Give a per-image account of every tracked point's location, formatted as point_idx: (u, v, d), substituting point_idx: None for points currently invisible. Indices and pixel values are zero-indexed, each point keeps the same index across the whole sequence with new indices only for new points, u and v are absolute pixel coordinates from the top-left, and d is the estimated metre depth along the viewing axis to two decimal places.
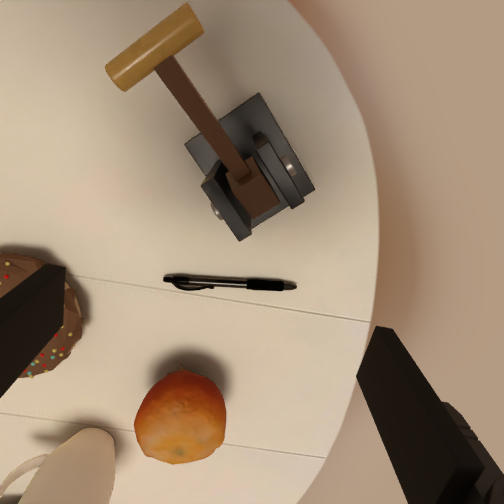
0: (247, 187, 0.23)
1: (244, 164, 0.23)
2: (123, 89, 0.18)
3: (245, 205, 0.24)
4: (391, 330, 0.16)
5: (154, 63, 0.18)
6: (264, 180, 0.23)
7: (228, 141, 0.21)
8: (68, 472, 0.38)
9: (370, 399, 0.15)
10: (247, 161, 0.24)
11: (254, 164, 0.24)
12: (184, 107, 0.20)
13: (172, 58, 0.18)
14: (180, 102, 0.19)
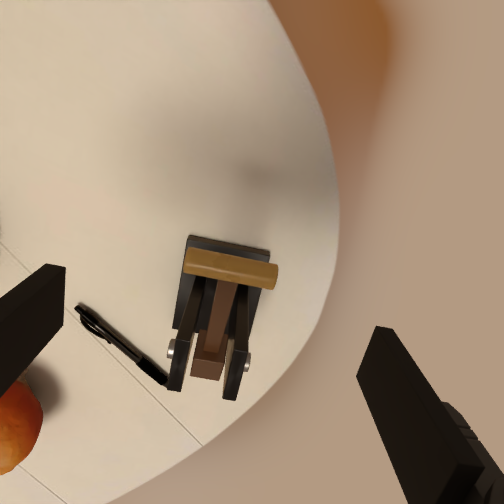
0: (206, 363, 0.26)
1: (218, 348, 0.25)
2: None
3: (193, 368, 0.26)
4: (391, 330, 0.16)
5: (222, 280, 0.20)
6: (222, 367, 0.26)
7: (222, 334, 0.24)
8: None
9: (370, 399, 0.15)
10: None
11: (224, 346, 0.26)
12: (214, 304, 0.22)
13: (236, 284, 0.20)
14: (215, 301, 0.22)
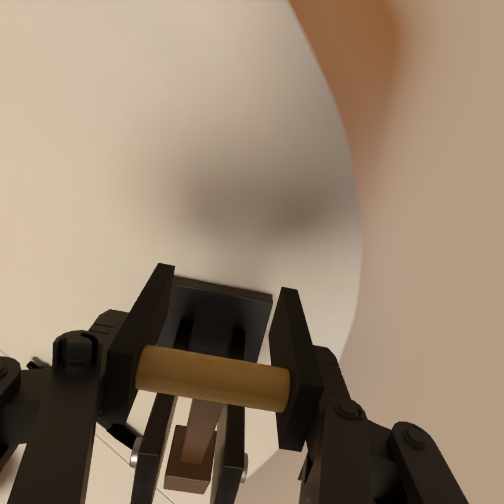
0: (184, 480, 0.18)
1: (201, 460, 0.18)
2: None
3: (167, 483, 0.19)
4: (296, 290, 0.17)
5: None
6: (206, 485, 0.18)
7: (205, 448, 0.16)
8: None
9: (272, 351, 0.16)
10: None
11: (211, 452, 0.19)
12: (191, 421, 0.14)
13: (223, 402, 0.13)
14: (191, 418, 0.14)
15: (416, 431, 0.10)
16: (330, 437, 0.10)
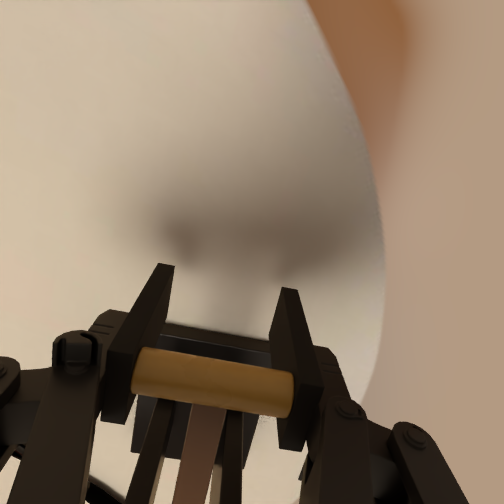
0: None
1: None
2: (134, 393, 0.11)
3: None
4: (296, 291, 0.17)
5: (199, 402, 0.11)
6: None
7: None
8: None
9: (272, 351, 0.16)
10: None
11: None
12: (183, 463, 0.12)
13: (224, 412, 0.12)
14: (185, 455, 0.12)
15: (416, 431, 0.10)
16: (330, 437, 0.09)
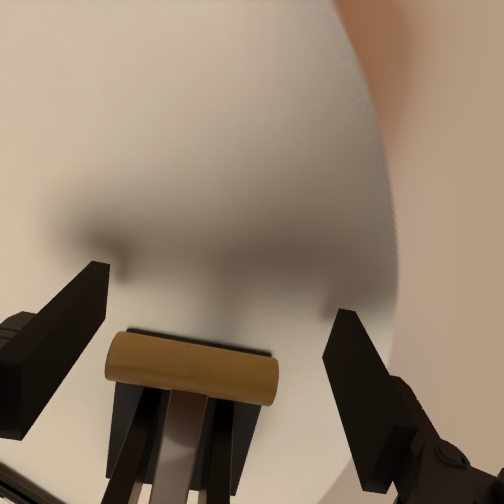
0: None
1: None
2: (108, 377, 0.11)
3: None
4: (354, 312, 0.16)
5: (179, 386, 0.11)
6: None
7: None
8: None
9: (331, 376, 0.16)
10: None
11: None
12: (159, 468, 0.11)
13: (205, 399, 0.11)
14: (161, 457, 0.11)
15: None
16: (427, 480, 0.09)
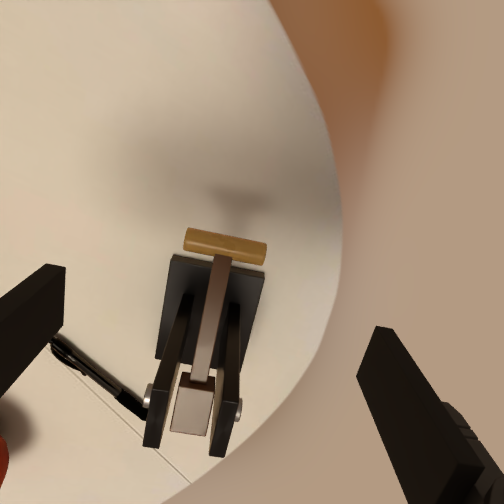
0: (194, 393, 0.22)
1: (207, 373, 0.23)
2: (185, 247, 0.22)
3: (176, 409, 0.22)
4: (391, 330, 0.16)
5: (218, 251, 0.22)
6: (211, 400, 0.22)
7: (213, 343, 0.23)
8: None
9: (370, 399, 0.15)
10: (208, 376, 0.24)
11: (212, 382, 0.23)
12: (208, 292, 0.22)
13: (231, 259, 0.22)
14: (209, 287, 0.22)
15: None
16: None
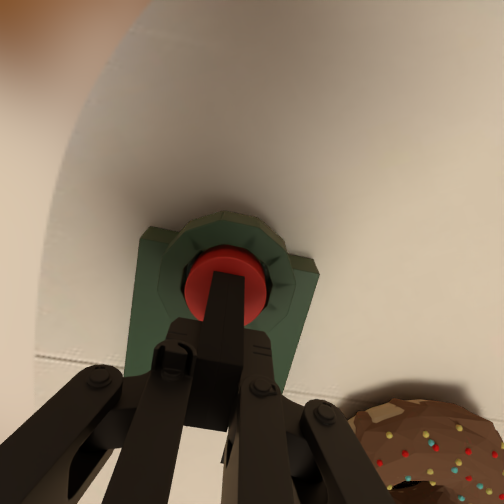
0: None
1: None
2: None
3: None
4: (244, 277, 0.17)
5: None
6: None
7: None
8: None
9: None
10: None
11: None
12: None
13: None
14: None
15: (325, 407, 0.10)
16: (246, 418, 0.09)
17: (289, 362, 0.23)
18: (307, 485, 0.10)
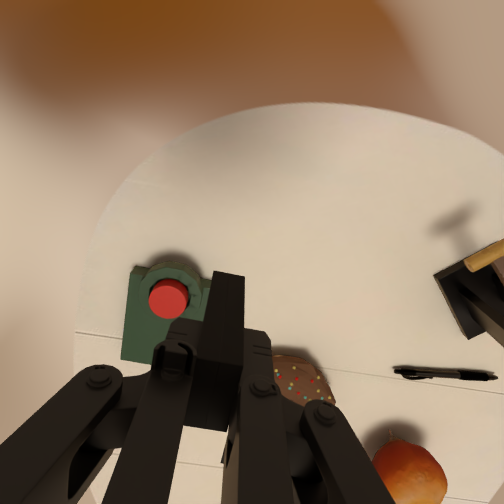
0: None
1: None
2: (474, 270, 0.35)
3: None
4: (244, 277, 0.17)
5: (494, 258, 0.34)
6: None
7: None
8: None
9: None
10: None
11: None
12: None
13: None
14: None
15: (326, 407, 0.10)
16: (246, 418, 0.09)
17: None
18: (307, 485, 0.10)
